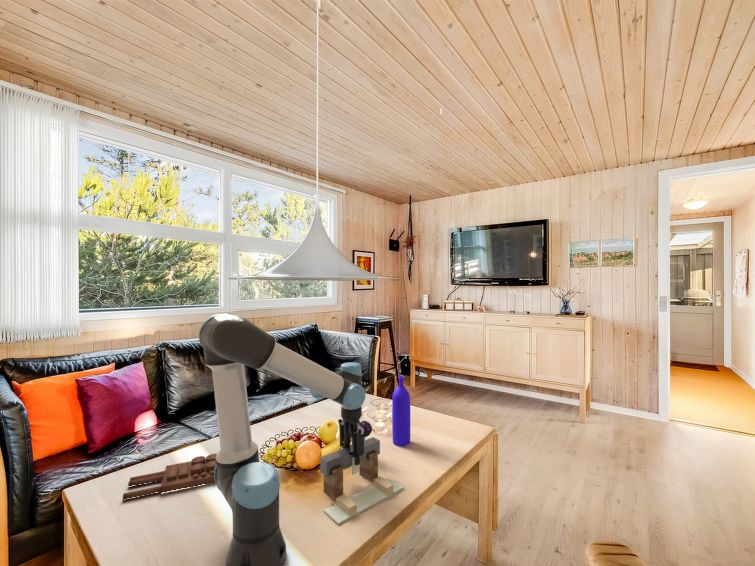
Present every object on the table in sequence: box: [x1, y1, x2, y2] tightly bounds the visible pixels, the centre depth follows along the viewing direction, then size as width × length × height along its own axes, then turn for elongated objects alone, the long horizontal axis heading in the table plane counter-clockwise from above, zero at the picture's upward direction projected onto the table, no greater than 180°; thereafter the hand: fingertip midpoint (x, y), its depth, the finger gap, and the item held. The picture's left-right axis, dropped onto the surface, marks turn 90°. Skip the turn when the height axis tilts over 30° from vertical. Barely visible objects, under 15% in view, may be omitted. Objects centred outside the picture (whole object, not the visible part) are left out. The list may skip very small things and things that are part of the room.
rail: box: [319, 436, 381, 477], centre depth 128 cm, size 24×4×5 cm, turn 131°
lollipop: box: [360, 420, 373, 440], centre depth 148 cm, size 7×7×15 cm
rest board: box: [323, 476, 404, 526], centre depth 119 cm, size 28×8×3 cm, turn 131°
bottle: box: [391, 375, 411, 447], centre depth 161 cm, size 8×8×30 cm
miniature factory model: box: [122, 453, 217, 500], centre depth 131 cm, size 16×5×30 cm
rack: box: [323, 451, 379, 500], centre depth 128 cm, size 20×6×10 cm, turn 131°
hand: (351, 470), depth 128 cm, fingers closed on rail, 4 cm apart
